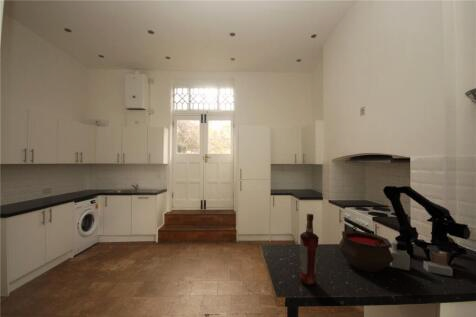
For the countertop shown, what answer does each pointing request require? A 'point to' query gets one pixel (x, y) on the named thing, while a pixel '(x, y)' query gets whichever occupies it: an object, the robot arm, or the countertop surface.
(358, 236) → the brown pot
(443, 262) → the terracotta tall brick
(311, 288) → the countertop surface
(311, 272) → the liquor
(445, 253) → the round birch brick
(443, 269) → the long grey brick
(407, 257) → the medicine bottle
